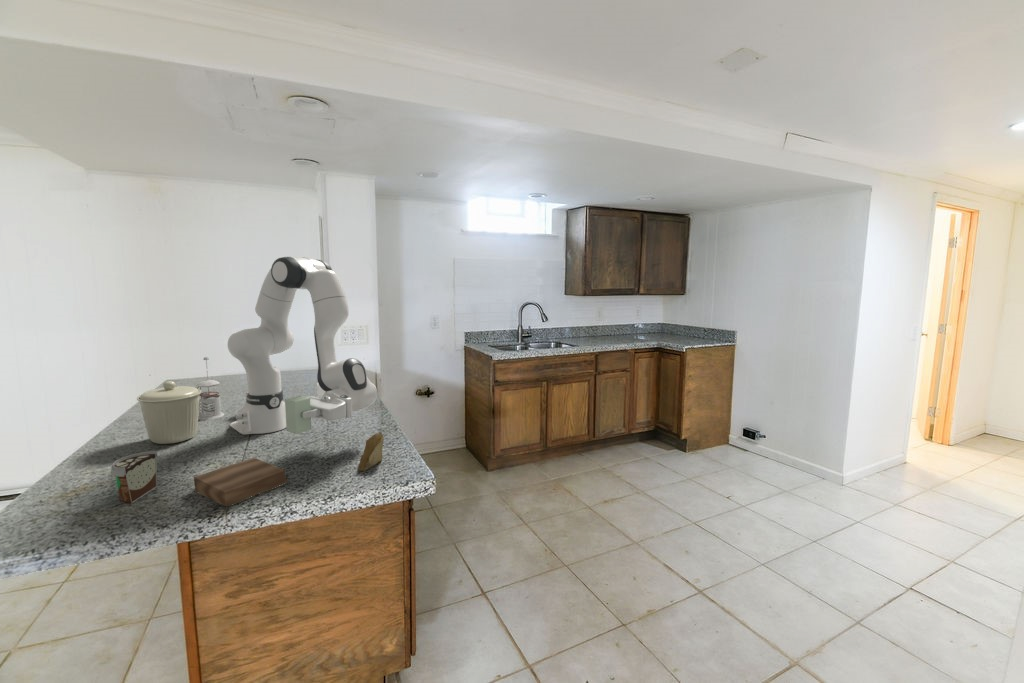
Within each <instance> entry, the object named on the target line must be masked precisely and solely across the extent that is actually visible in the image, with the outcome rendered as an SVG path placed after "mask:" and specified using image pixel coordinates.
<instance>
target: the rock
mask: <svg viewBox="0 0 1024 683" xmlns="http://www.w3.org/2000/svg"><path fill="white" fill-rule="evenodd" d="M383 448H384V435H383V434H382V433H381V432H378V433H375V434H373V435H372V436H370V437H369V438H368V439H366V441H365V447H364V448H363V453H362V454H361V456H360V460H359V463H358V467H357V471H361V472H365V471H366V470H368V469H370V468H372V467H373V466H376V465H377V464H378V463H380V462H381V461H382V460H383Z"/></svg>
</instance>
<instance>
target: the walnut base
mask: <svg viewBox="0 0 1024 683" xmlns="http://www.w3.org/2000/svg"><path fill="white" fill-rule="evenodd" d="M286 478H287V477H286V469H284V468H281V467H278V466H275V465H273V464H270V463H268V462H265V461H263V460H260V459H257V458H255V457H251V458H249V459H245V460H242V461H239V462H235V463H232V464H230V465H227V466H224V467H221V468H217V469H214V470H211V471H209V472H205V473H202V474H199V475H196V476H194V477H193V481H194V485H193V486H194V491H195V492H196V493H198V494H200V495H202V496H204V497H206V498H207V499H209V500H212V501H213V500H214V501H213V502H215V501H216V503H217V502H218V503H217V504H219V503H220V504H219V505H221V504H222V505H221V506H223V505H224V506H223V507H225V506H226V507H225V508H228V507H230V506H229V505H231V506H233V505H236V504H238V503H240V501H241V502H243V501H245V500H244V499H246V498H248V499H250V498H249V497H251V496H253V497H255V496H254V495H256V494H258V495H260V494H259V493H261V492H263V493H265V492H264V491H266V492H268V491H267V490H269V491H271V490H272V488H274V489H276V488H278V487H277V486H279V485H281V486H283V485H282V484H284V483H286V484H287V479H286ZM284 485H285V484H284ZM275 487H276V488H275ZM279 487H280V486H279ZM270 489H271V490H270ZM261 494H262V493H261ZM256 496H257V495H256ZM251 498H252V497H251ZM242 500H243V501H242ZM246 500H247V499H246ZM237 502H238V503H237ZM235 503H236V504H235ZM232 504H233V505H232ZM227 506H228V507H227Z"/></svg>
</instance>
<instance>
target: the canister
mask: <svg viewBox="0 0 1024 683" xmlns="http://www.w3.org/2000/svg"><path fill="white" fill-rule="evenodd" d="M176 385H177V384H176V382H174V381H173V380H168V381H165V382H164V383H163V384H162V387H160V388H155V389H151V390H148V391H145V392H143V393H142V394H141V395H140V394H139V396H137V397H136V401H137V402H139V405H140V409H141V412H142V417H143V421H144V426H145V429H146V433H147V436H148V438H149V440H150V441H151V443H152V442H153V443H154V444H158V445H169V444H177V443H181V442H185V441H187V440H190V439H192V438H193V437H194V436H195V435H196V434H197V432H198V425H199V420H198V415H199V399H200V396H199V395H200V394H201V393H203V391H202V389H201V390H200V388H198V389H197V388H196V387H195V386H187V385H178V386H176Z"/></svg>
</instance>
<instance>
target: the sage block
mask: <svg viewBox="0 0 1024 683" xmlns="http://www.w3.org/2000/svg"><path fill="white" fill-rule="evenodd" d="M284 402H285V412H286V428H285V429H286V430H285V431H286V432H288V433H292V434H294V435H298V434H302V433H304V432H308V431H311V430H312V417H308V418H302V417H301V412H304V411H311V409H310V398H307V397H306V396H304V395H297V396H293V397H289V398H284Z"/></svg>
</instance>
